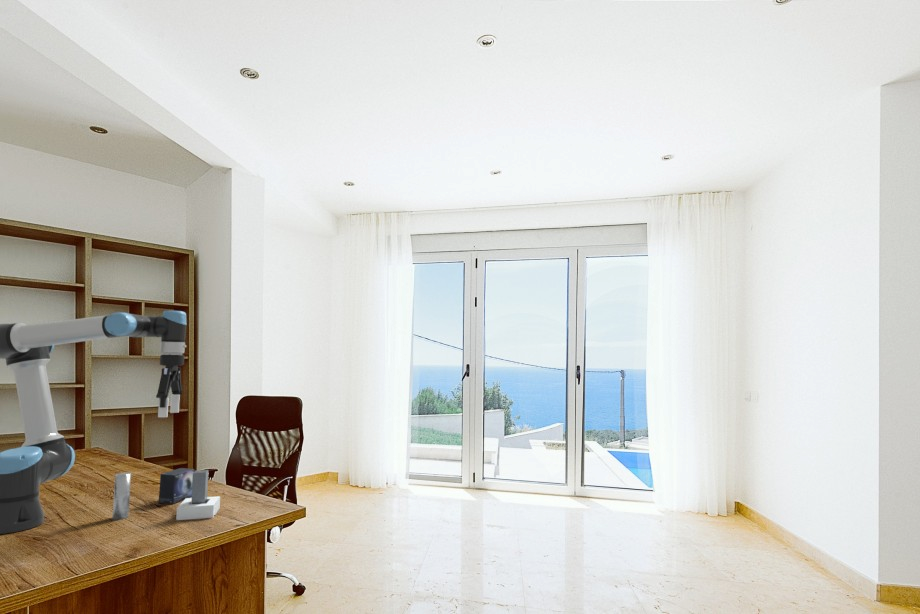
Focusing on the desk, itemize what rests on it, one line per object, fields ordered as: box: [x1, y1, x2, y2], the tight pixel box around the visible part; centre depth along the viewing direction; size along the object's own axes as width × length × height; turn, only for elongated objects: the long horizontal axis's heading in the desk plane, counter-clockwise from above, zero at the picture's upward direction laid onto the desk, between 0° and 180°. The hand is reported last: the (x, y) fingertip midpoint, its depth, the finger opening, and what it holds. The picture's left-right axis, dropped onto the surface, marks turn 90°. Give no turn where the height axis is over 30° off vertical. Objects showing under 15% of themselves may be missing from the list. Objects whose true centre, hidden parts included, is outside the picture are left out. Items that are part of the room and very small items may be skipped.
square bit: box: [191, 469, 209, 504], centre depth 174 cm, size 4×4×14 cm
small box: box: [157, 467, 195, 505], centre depth 190 cm, size 11×6×10 cm, turn 168°
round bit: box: [112, 472, 132, 521], centre depth 170 cm, size 4×4×14 cm
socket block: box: [175, 495, 221, 521], centre depth 174 cm, size 11×11×4 cm
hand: (168, 415), depth 181 cm, fingers open, 13 cm apart
